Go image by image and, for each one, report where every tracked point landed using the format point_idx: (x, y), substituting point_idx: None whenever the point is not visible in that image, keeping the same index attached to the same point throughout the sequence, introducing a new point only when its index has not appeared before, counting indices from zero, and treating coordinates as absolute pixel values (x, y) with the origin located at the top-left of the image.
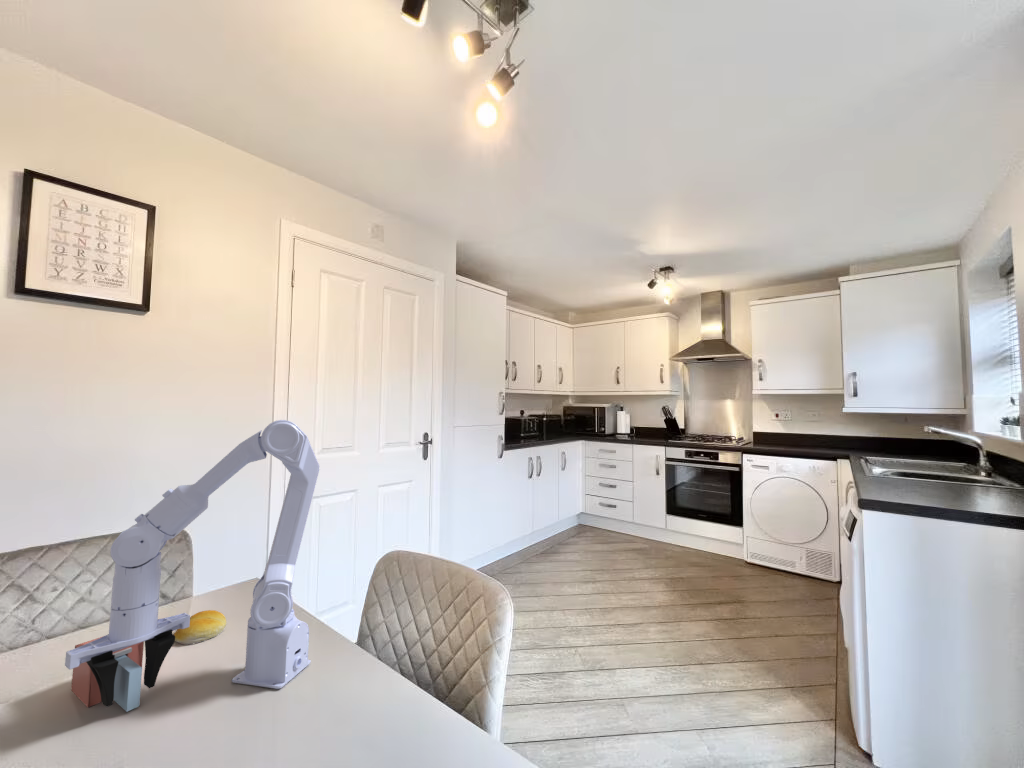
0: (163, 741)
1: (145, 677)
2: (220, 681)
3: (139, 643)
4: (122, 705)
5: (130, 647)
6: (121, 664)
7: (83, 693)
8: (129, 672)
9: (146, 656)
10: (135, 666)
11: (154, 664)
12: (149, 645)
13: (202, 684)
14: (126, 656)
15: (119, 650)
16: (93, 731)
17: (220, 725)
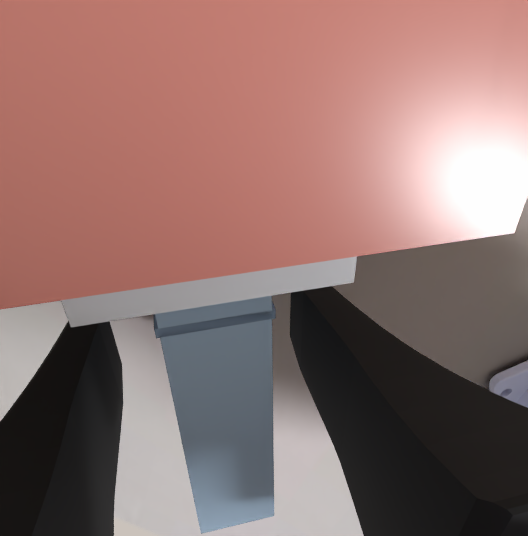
0: None
1: (303, 318)
2: (486, 338)
3: (462, 231)
4: None
5: (352, 253)
6: (187, 413)
7: None
8: (201, 528)
9: (366, 394)
10: (252, 487)
11: (344, 474)
12: (414, 528)
13: (449, 313)
14: None
15: (225, 269)
16: None
17: (336, 515)
